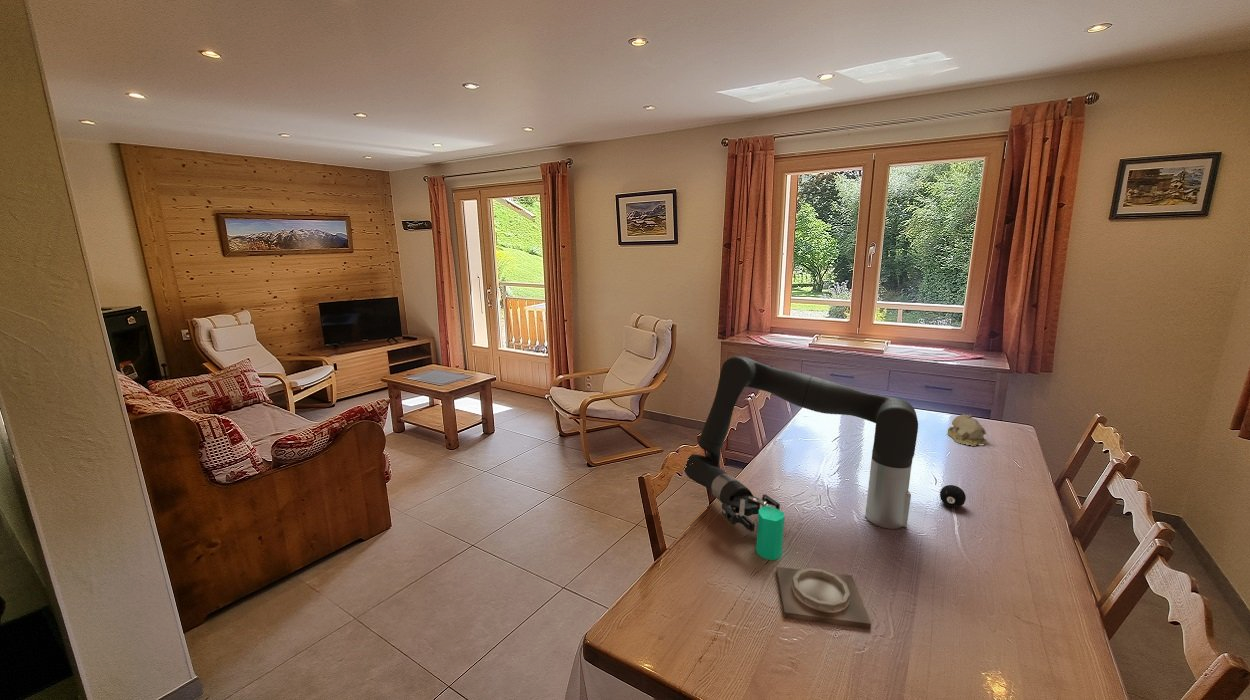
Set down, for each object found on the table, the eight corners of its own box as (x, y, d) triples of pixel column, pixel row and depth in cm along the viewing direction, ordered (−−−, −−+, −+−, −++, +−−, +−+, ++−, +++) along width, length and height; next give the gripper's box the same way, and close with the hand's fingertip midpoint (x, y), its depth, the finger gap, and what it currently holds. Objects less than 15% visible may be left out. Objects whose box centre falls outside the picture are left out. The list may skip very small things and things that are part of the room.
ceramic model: (994, 446, 174) (998, 421, 172) (964, 447, 174) (968, 421, 172) (965, 432, 188) (969, 408, 186) (938, 432, 188) (941, 408, 186)
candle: (752, 545, 118) (755, 501, 116) (775, 543, 119) (779, 500, 116) (761, 560, 112) (764, 514, 110) (785, 559, 113) (789, 513, 110)
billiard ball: (936, 506, 135) (939, 486, 134) (941, 498, 139) (943, 479, 138) (962, 513, 131) (965, 494, 130) (965, 505, 135) (968, 486, 134)
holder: (851, 580, 106) (852, 568, 105) (870, 628, 92) (872, 615, 92) (776, 571, 109) (777, 559, 108) (784, 617, 95) (785, 604, 95)
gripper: (708, 484, 126) (744, 516, 111) (753, 475, 131) (793, 504, 116) (707, 510, 128) (742, 544, 113) (752, 500, 133) (791, 531, 118)
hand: (768, 524), depth 115 cm, fingers open, 8 cm apart
